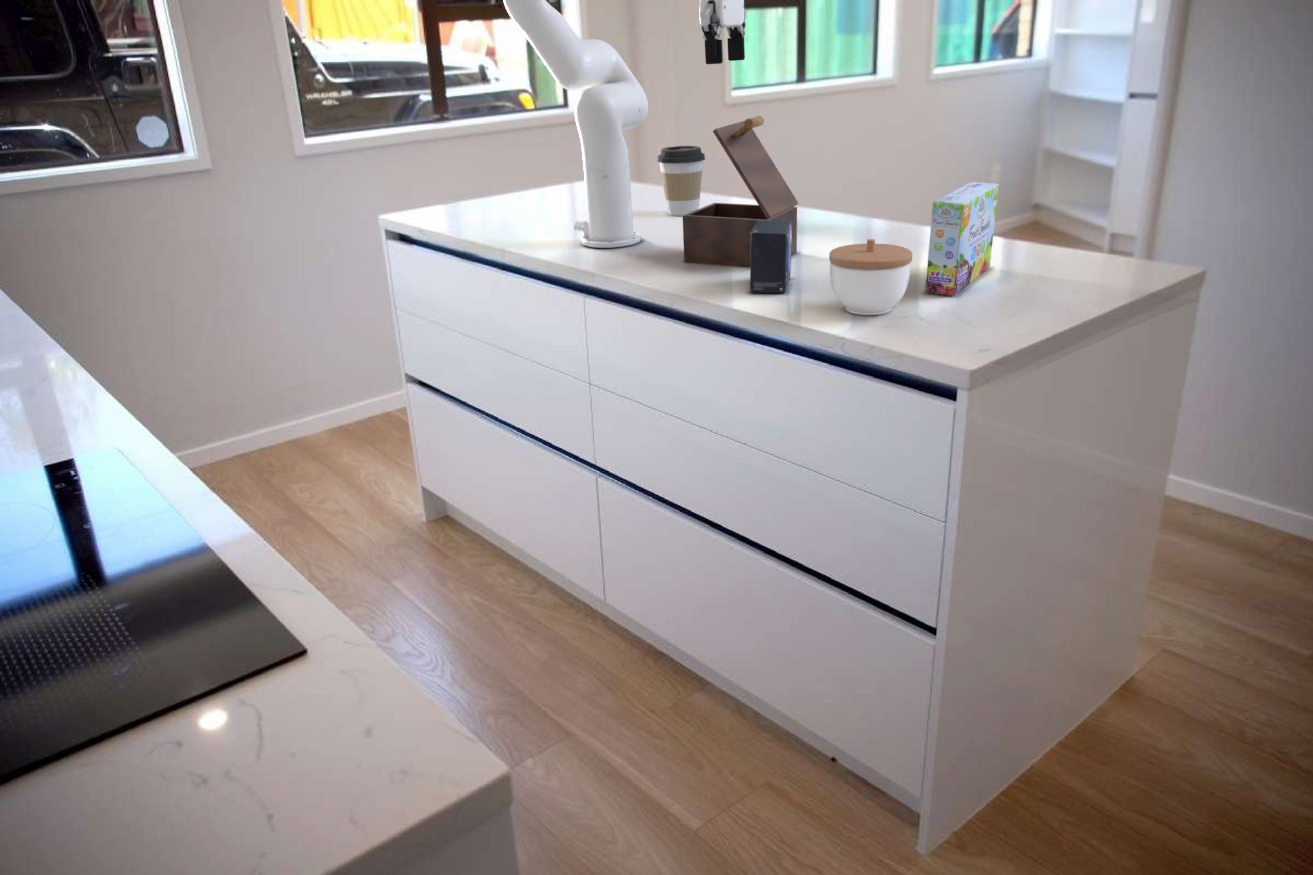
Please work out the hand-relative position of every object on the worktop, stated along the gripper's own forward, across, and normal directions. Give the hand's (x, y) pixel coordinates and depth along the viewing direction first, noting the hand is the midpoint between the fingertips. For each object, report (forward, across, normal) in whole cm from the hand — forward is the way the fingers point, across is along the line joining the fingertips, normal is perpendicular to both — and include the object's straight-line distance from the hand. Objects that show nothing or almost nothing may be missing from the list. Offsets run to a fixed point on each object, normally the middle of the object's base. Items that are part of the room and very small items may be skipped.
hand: (725, 62), depth 184 cm
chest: (+36, +2, +3) cm, 36 cm away
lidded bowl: (+37, +29, +36) cm, 59 cm away
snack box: (+37, +7, +46) cm, 59 cm away
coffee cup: (+35, -35, -29) cm, 57 cm away
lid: (+19, +3, +6) cm, 20 cm away
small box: (+36, +21, +16) cm, 45 cm away
